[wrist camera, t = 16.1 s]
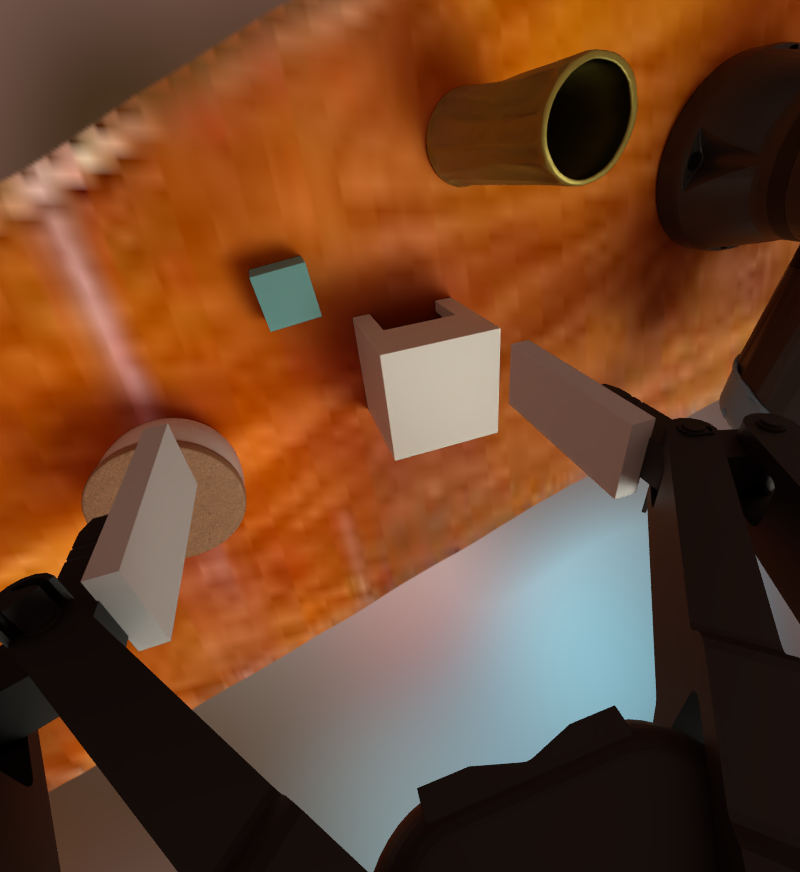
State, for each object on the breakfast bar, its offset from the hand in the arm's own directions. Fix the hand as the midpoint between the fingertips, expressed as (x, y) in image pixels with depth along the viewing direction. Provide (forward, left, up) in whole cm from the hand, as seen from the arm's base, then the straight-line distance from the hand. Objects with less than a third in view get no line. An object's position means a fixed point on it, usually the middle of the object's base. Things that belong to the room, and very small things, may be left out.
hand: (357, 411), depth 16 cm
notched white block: (-11, -1, -21) cm, 24 cm away
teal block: (+1, +1, -21) cm, 21 cm away
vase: (-3, -16, -21) cm, 27 cm away
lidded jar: (0, +18, -21) cm, 28 cm away
